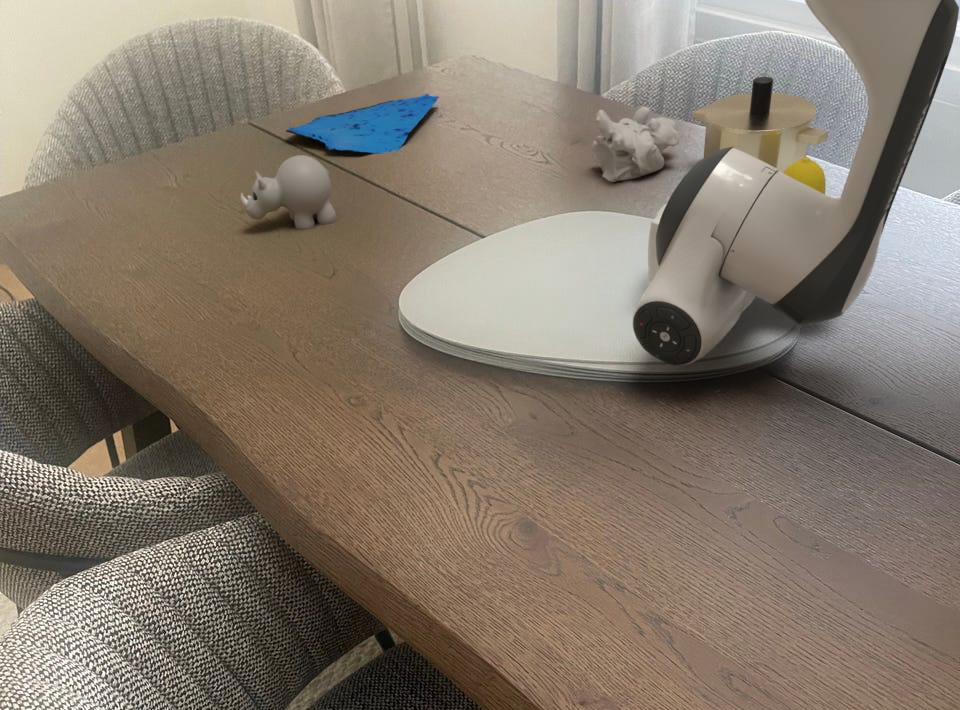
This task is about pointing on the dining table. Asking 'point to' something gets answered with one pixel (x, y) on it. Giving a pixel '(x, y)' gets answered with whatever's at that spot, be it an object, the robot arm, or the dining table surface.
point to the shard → (369, 126)
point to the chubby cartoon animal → (294, 193)
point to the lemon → (807, 174)
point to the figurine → (632, 145)
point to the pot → (764, 143)
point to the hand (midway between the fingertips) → (773, 208)
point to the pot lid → (760, 111)
